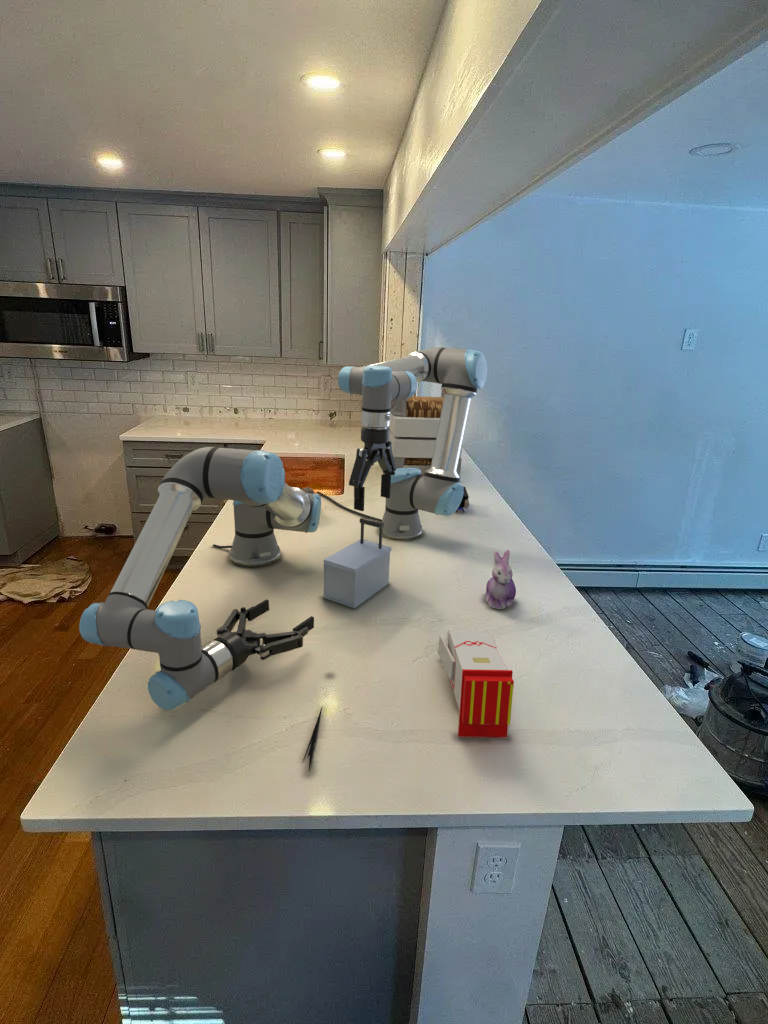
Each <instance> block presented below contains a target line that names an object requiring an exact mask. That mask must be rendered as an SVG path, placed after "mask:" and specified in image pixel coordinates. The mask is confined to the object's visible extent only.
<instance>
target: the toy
mask: <svg viewBox="0 0 768 1024" xmlns="http://www.w3.org/2000/svg"><path fill="white" fill-rule="evenodd" d="M446 640H447V643H446V641H445V639H444V636H443V635H442V634H439V637H438V646H437V656H438V657H439V659H440V661H441V663H442V666H443V668H444V670H445V672H446V674H447V677H448V679H449V681H450V684H451V687H452V690H453V693H454V697H455V701H456V705H457V708H458V711H459V714H458V715H459V716H458V730H457V731H458V732H457V737H458V738H508V731H509V726H510V725H511V717H512V707H513V697H514V696H513V695H514V684H515V680H514V679H513V673H514V671H513V670H512V669H508V667H507V665H506V662H505V661H504V659H503V658H502V655H501V653H500V651H499V649H498V647H497V643H496V639H495V637H494V635H493V634H491V632H490V631H489V629H467V628H466V629H465V628H463V629H461V628H460V629H459V628H448V630H447V639H446Z"/></svg>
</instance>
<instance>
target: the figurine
mask: <svg viewBox="0 0 768 1024" xmlns="http://www.w3.org/2000/svg"><path fill="white" fill-rule="evenodd" d="M510 555H511V551H510V550H509V549H506V550H505V552H504V553H503V555H502V557H501V555H500V553H499V552H498V551H497V550H494V551H493V558H494V559H493V562H494V565H493V568H492V570H491V575H492V577H490V578H489V579H488V580H487V583H486V586H485V589H486V590H485V594H484V596H485V597H484V599H485V602H486V603H487V604H488V607H490V608H492V609H498V610H504V609H505V608H510V607H511V606H512V605H513V603H514V602H515V597H516V596H517V595H516V594H517V588H516V584H515V581H514V580H513V576H514V575H513V574H514V573H513V570H512V567H511V565H510Z"/></svg>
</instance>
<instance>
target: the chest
mask: <svg viewBox="0 0 768 1024" xmlns="http://www.w3.org/2000/svg"><path fill="white" fill-rule="evenodd" d="M390 560H391V551H390V552H389V553H387V554H386V555H384V556H383V557H381V558H379V559H378V560H376V561H375V562H373V563H372V564H370V565H368V566H367V567H365V568H364V569H362V570H361V571H359V572H357V573H356V574H355V573H351V572H348V571H345V570H342V569H339V568H336V567H332V566H329V565H326V564H324V563H323V599H327V600H329V601H332V602H334V603H337V604H341V605H343V606H345V607H349V608H352V609H356V608H357V607H359V606H361V604H363V603H364V602H366V601H368V599H370V598H371V597H373V596H374V595H375V594H377V593H378V592H380V591H381V590H382V589H384V588H385V587H387V586H388V585H389V580H390V563H391V561H390Z"/></svg>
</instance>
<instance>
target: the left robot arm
mask: <svg viewBox="0 0 768 1024" xmlns="http://www.w3.org/2000/svg"><path fill="white" fill-rule="evenodd" d="M299 488H300V487H295V486H290V485H288V483H286V472H285V468H284V464H283V461H282V460H281V458H280V456H279V455H277V454H276V453H274V452H271V451H267V450H263V449H257V450H253V449H242V448H229V447H218V446H205V447H199V448H197V449H195V450H193V451H190V452H189V453H187V454H185V455H184V456H183V457H181V458H180V459H179V460H178V461H177V462H176V463H174V465H173V466H172V467H171V468H170V469H169V470H168V471H167V472H166V474H164V476H163V478H162V479H161V482H160V483H159V486H158V487H157V494H158V498H157V500H156V502H155V504H154V506H153V508H152V509H151V512H150V514H149V515H148V517H147V520H146V521H145V524H144V525H143V527H142V528H141V529H142V530H141V531H140V533H139V535H138V536H137V539H136V541H135V543H134V545H133V546H132V548H131V551H130V553H129V554H128V556H127V559H126V561H125V563H124V565H123V566H122V568H121V571H120V572H119V574H118V576H117V578H116V580H115V582H114V584H113V586H112V588H111V590H110V592H109V593H108V595H107V597H106V599H105V600H104V602H99V603H98V602H93V603H91V604H90V605H89V606H88V607H87V608H85V609H84V610H83V612H82V614H81V616H80V618H79V619H80V621H79V624H78V626H79V627H78V629H79V633H80V636H81V638H82V639H83V640H84V642H87V643H90V644H94V645H99V646H102V647H113V648H122V649H127V650H128V649H129V650H135V651H142V652H149V653H156V654H158V659H159V667H160V670H158V671H155V673H154V674H153V675H151V676H150V677H149V679H148V682H147V691H148V694H149V697H150V699H151V701H152V702H153V703H154V704H155V705H156V706H157V707H158V708H159V709H162V710H163V711H167V712H169V711H170V712H171V711H173V710H176V709H177V708H179V707H181V706H182V705H185V704H186V703H188V702H190V701H191V700H192V699H193V698H194V697H196V696H197V695H199V694H200V693H201V692H203V691H205V690H207V688H209V687H210V686H212V685H214V684H215V683H216V682H218V681H220V680H221V679H222V678H224V677H225V676H226V675H228V674H230V673H231V672H232V671H235V670H236V669H238V668H239V667H241V666H242V665H243V664H245V662H246V661H247V660H248V658H249V657H250V656H252V655H258V656H259V659H260V661H264V660H267V659H268V658H270V657H273V656H276V655H280V654H283V653H286V652H290V651H294V650H297V649H300V648H303V646H304V637H305V636H307V635H308V633H309V632H310V631H311V630H313V629H314V628H315V616H312V615H311V616H309V617H308V618H306V619H305V620H303V621H302V622H300V623H299V624H297V625H296V626H295V627H293V628H292V631H285V632H278V633H269V634H267V633H265V632H261V633H257V632H254V631H253V630H250V629H246V626H247V621H248V622H253V621H254V620H255V619H257V618H259V617H260V616H262V615H264V614H265V613H267V612H269V611H270V600H269V599H265V600H263V601H261V602H259V603H257V604H256V605H253V606H250V607H249V608H246V607H245V606H243V607H240V608H239V609H240V610H239V609H237V608H234V609H232V611H231V613H230V614H229V615H228V617H227V618H226V620H225V621H224V622H223V624H222V625H221V626H220V627H218V628H217V629H216V637H215V638H214V639H211V640H210V641H208V642H206V643H205V644H203V645H202V635H201V634H202V633H201V631H202V630H201V629H202V625H201V622H200V616H199V610H198V607H197V606H196V604H194V602H192V601H189V600H185V599H178V600H169V601H166V602H163V603H162V604H160V605H159V606H158V607H157V608H156V609H155V610H153V609H148V608H149V606H150V603H151V601H152V600H153V597H154V595H155V593H156V591H157V589H158V586H159V584H160V582H161V580H162V577H163V575H164V573H165V572H166V569H167V567H168V565H169V563H170V560H171V558H172V556H173V554H174V552H175V550H176V548H177V545H178V544H179V541H180V539H181V537H182V534H183V533H184V530H185V529H186V527H187V524H188V522H189V519H190V517H191V515H192V513H193V511H196V510H198V509H199V508H200V507H201V505H202V503H203V501H204V500H206V499H217V500H227V501H233V502H232V506H233V519H234V520H233V521H234V537H233V540H232V544H231V545H219V544H215V543H214V544H212V547H213V548H217V549H230V551H229V560H230V561H231V562H232V563H233V564H235V565H238V566H241V567H246V568H259V567H265V566H268V565H269V566H270V565H272V564H274V563H276V562H277V561H279V559H280V558H281V548H280V546H279V545H278V540H277V538H276V535H275V530H281V531H290V532H301V533H306V534H307V533H311V534H313V533H315V532H316V531H317V530H318V528H319V525H320V521H321V513H322V497H321V495H320V494H318V493H315V492H314V493H312V494H310V493H305V492H304V491H303V490H301V489H299ZM237 623H238V624H237ZM236 625H237V629H236V631H233V629H234V628H235V626H236ZM261 639H262V644H261Z"/></svg>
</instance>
